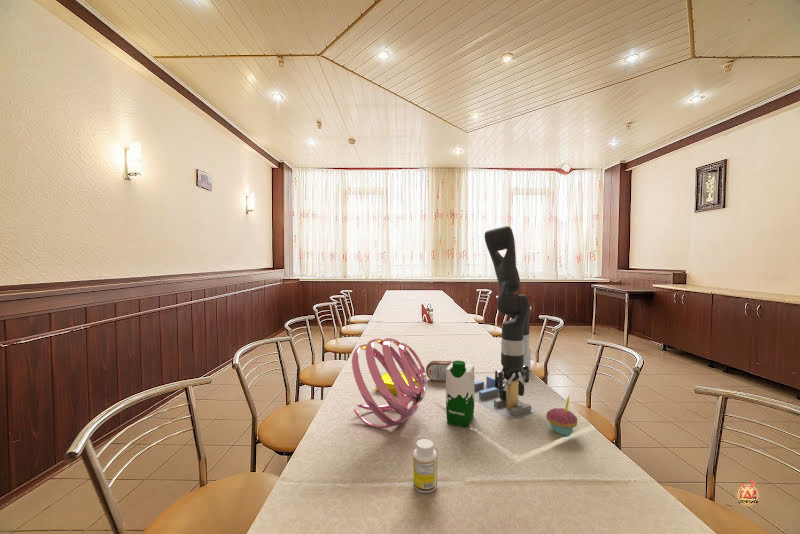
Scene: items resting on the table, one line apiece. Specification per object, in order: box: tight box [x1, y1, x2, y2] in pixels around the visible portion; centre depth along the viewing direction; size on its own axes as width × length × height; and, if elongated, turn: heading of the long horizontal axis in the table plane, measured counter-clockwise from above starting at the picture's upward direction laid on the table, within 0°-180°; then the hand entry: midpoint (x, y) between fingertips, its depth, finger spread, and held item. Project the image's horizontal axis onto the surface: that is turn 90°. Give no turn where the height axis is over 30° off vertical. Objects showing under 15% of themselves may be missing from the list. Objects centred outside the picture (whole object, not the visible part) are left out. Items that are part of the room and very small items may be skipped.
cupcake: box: [545, 394, 578, 438], centre depth 100 cm, size 9×8×12 cm
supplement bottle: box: [412, 438, 438, 494], centre depth 77 cm, size 6×6×10 cm
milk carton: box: [445, 360, 475, 429], centre depth 108 cm, size 9×9×20 cm
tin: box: [425, 360, 453, 382], centre depth 143 cm, size 15×3×8 cm, turn 84°
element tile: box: [375, 370, 419, 396], centre depth 136 cm, size 15×15×5 cm
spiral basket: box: [351, 337, 427, 429], centre depth 109 cm, size 28×28×27 cm
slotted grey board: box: [474, 375, 539, 421], centre depth 121 cm, size 14×26×5 cm, turn 29°
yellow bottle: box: [505, 379, 519, 411], centre depth 114 cm, size 4×4×12 cm
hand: (512, 397), depth 114 cm, fingers open, 8 cm apart
